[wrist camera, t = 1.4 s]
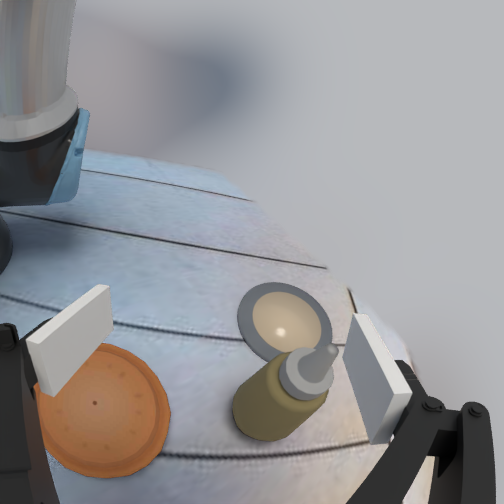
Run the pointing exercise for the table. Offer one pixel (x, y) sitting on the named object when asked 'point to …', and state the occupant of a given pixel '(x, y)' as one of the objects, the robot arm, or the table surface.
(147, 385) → the pie
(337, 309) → the table surface
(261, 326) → the coaster
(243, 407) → the squeeze bottle
